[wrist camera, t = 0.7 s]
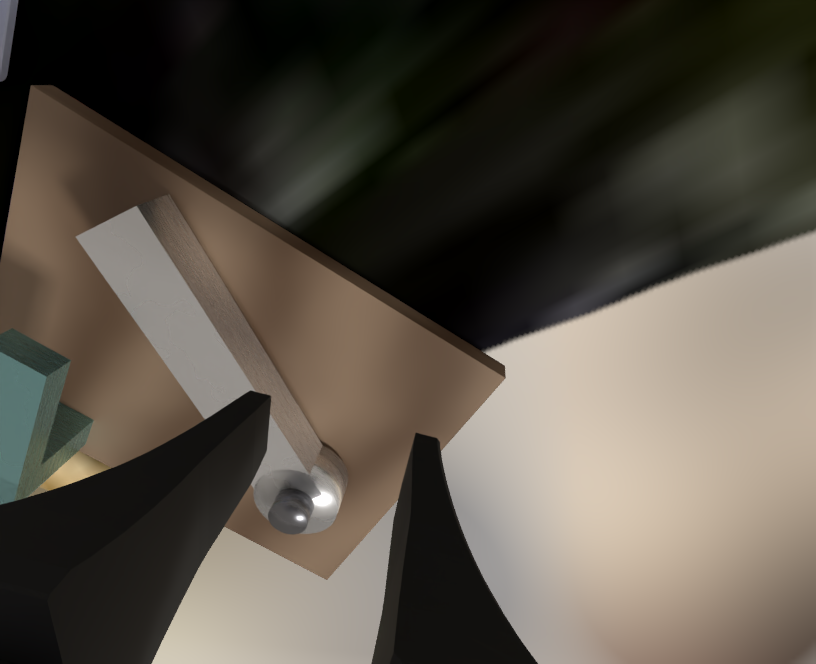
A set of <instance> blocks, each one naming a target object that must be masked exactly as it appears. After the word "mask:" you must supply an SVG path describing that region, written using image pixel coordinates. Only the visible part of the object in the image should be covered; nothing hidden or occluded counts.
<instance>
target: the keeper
mask: <svg viewBox="0 0 816 664" xmlns="http://www.w3.org/2000/svg"><path fill="white" fill-rule="evenodd" d="M70 363H71V360H70V359H68V358H66V357H64V356H62V355H61V354H59V353H57V352H55V351H53V350H51V349H50V348H48V347H46V346H44V345H42V344H40V343H39V342H37V341H35V340H33V339H31V338H30V337H28V336H26V335H24V334H22V333H20V332H19V331H17V330H15V329H13V328H11V329H10V330H8V331H6V332H4V333H2V334H0V505H1V504H5V503H9V502H13V501H17V500H20V499H24V498H27V497H28V496H29V495H30V494H31V493H32V492H33V491H35V490H36V489H37V488H38V487H39V486H40V485H41V484H42V483H43V482H45V481H46V480H47V479H48V478H49V477H50V476H51V475H52V474H53V473H54V472H56V471H57V470H58V469H59V468H60V467H61V466H62V465H63V464H64V463H65V462H67V461H68V460H69V459H70V458H71V457H72V456H73V455H74V454H75V453H76V452H78V451H79V450H80V449H81V448H82V447H83V446H84V445H85V444H86V441H87V438H88V435H89V433H90V430H91V427H92V424H93V421H94V420H93V419H91V418H89V417H87V416H85V415H84V414H82V413H80V412H78V411H76V410H74V409H72V408H70V407H68V406H67V405H65V404H63V403H61V402H59V401H60V397H61V394H62V390H63V387H64V383H65V380H66V376H67V373H68V370H69V366H70Z"/></svg>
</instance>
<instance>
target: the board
mask: <svg viewBox="0 0 816 664" xmlns="http://www.w3.org/2000/svg"><path fill="white" fill-rule="evenodd" d="M168 194H170V196H171V197H172V199H173V201H174V202H175V204H176V206H177V207H178V209H179V211H180V212H181V214H182V215H183V217H184V219H185V220H186V222H187V224H188V225H189V227H190V229H191V230H192V232H193V233H194V235H195V237H196V238H197V240H198V242H199V243H200V245H201V247H202V248H203V250H204V252H205V253H206V255H207V256H208V258H209V260H210V261H211V263H212V265H213V266H214V268H215V270H216V271H217V273H218V274H219V276H220V278H221V279H222V281H223V283H224V284H225V286H226V288H227V289H228V291H229V292H230V294H231V296H232V297H233V299H234V301H235V302H236V304H237V306H238V307H239V309H240V311H241V312H242V314H243V315H244V317H245V319H246V320H247V322H248V324H249V325H250V327H251V329H252V330H253V332H254V333H255V335H256V337H257V338H258V340H259V342H260V343H261V345H262V347H263V348H264V350H265V352H266V353H267V355H268V356H269V358H270V360H271V361H272V363H273V365H274V366H275V368H276V370H277V371H278V373H279V374H280V376H281V378H282V379H283V381H284V383H285V384H286V386H287V388H288V389H289V391H290V392H291V394H292V396H293V397H294V399H295V401H296V402H297V404H298V406H299V407H300V409H301V411H302V412H303V414H304V415H305V417H306V419H307V420H308V422H309V424H310V425H311V427H312V429H313V430H314V432H315V433H316V435H317V437H318V438H319V440H320V442H321V443H322V445H323V446H325V447H327V448H329V449H330V450H332V451H333V452H334V453H336V454H337V455H338V456H339V457H340V459H341V460H342V461H343V463H344V464H345V466H346V468H347V471H348V484H347V487H346V490H345V493H344V496H343V499H342V502H341V505H340V508H339V511H338V513H337V516H336V519H335V521H334V522H333V524H332V525H331V526H329V527H328V528H327V529H325V530H323V531H321V532H317V533H312V534H300V533H299V534H294V535H291V534H285V533H282V532H280V531H278V530H277V529H275V528H274V527H273V526H272V525H271V524H270V522H269V520H268V519H266V518H265V517H264V516H263V515H262V513H261V512H260V511H259V509H258V508H257V506H256V504H255V501H254V495H253V492H254V488H253V487H252V485H250V486H249V488H248V490H247V491H246V493H245V494H244V496H243V498H242V499H241V501H240V502H239V504H238V505H237V507H236V509H235V510H234V512H233V513H232V515H231V516H230V518H229V520H228V521H227V523H226V524H225V526H224V527H226V528H228V529H230V530H232V531H234V532H236V533H238V534H240V535H242V536H244V537H246V538H248V539H249V540H251V541H253V542H255V543H257V544H259V545H261V546H263V547H265V548H267V549H269V550H271V551H273V552H274V553H276V554H278V555H280V556H282V557H284V558H286V559H288V560H290V561H292V562H294V563H295V564H298V565H299V566H301V567H303V568H305V569H307V570H309V571H311V572H313V573H315V574H317V575H318V576H320V577H322V578H324V579H326V580H327V579H328V578H329V577H330V576H331V575H332V574H333V572H334V571H335V570H336V569H337V568H338V567H339V565H340V564H341V563H342V562H343V561H344V560H345V559H346V558H347V556H348V555H349V554H350V553H351V552H352V551H353V550H354V549H355V548H356V546H357V545H358V544H359V543H360V542H361V541H362V540H363V538H364V537H365V536H366V535H367V534H368V533H369V532H370V531H371V529H372V528H373V527H374V526H375V525H376V524H377V523H378V521H379V520H380V519H381V518H382V517H383V516H384V515H385V514H386V512H387V511H388V510H389V509H390V508H391V507H392V506H393V505H394V503H395V502H396V501H397V500H398V498H399V494H400V489H401V485H402V481H403V478H404V474H405V470H406V466H407V463H408V459H409V455H410V451H411V448H412V444H413V440H414V437H415V433H420V434H423V435H427V436H431V437H435V438H438V440H439V441H440V449H441V450H442V449H443V448H444V447H445V446H446V445H447V444H448V442H449V441H450V440H451V439H452V438H453V437H454V436H455V434H456V433H457V432H458V431H459V430H460V429H461V428H462V427H463V425H464V424H465V423H466V422H467V421H468V420H469V419H470V417H471V416H472V415H473V414H474V413H475V412H476V411H477V410H478V409H479V407H480V406H481V405H482V404H483V403H484V402H485V401H486V400H487V398H488V397H489V396H490V395H491V394H492V393H493V392H494V391H495V389H496V388H497V387H498V386H499V385H500V383H501V382H502V381H503V380H504V379H505V366H504V365H502V364H501V363H499V362H498V361H496V360H495V359H493V358H491V357H490V356H488V355H486V354H485V353H483V352H482V351H480V350H478V349H477V348H475V347H474V346H472V345H470V344H469V343H467V342H466V341H464V340H462V339H461V338H459V337H457V336H456V335H454V334H453V333H451V332H449V331H448V330H446V329H445V328H443V327H441V326H440V325H438V324H437V323H435V322H433V321H432V320H430V319H428V318H427V317H425V316H424V315H422V314H420V313H419V312H417V311H416V310H414V309H412V308H411V307H409V306H408V305H406V304H404V303H403V302H401V301H399V300H398V299H396V298H395V297H393V296H391V295H390V294H388V293H387V292H385V291H383V290H382V289H380V288H379V287H377V286H375V285H374V284H372V283H370V282H369V281H367V280H366V279H364V278H362V277H361V276H359V275H358V274H356V273H354V272H353V271H351V270H350V269H348V268H346V267H345V266H343V265H341V264H340V263H338V262H337V261H335V260H333V259H332V258H330V257H329V256H327V255H325V254H324V253H322V252H321V251H319V250H317V249H316V248H314V247H312V246H311V245H309V244H308V243H306V242H304V241H303V240H301V239H300V238H298V237H296V236H295V235H293V234H292V233H290V232H288V231H287V230H285V229H283V228H282V227H280V226H279V225H277V224H275V223H274V222H272V221H271V220H269V219H267V218H266V217H264V216H263V215H261V214H259V213H258V212H256V211H254V210H253V209H251V208H250V207H248V206H246V205H245V204H243V203H242V202H240V201H238V200H237V199H235V198H234V197H232V196H230V195H229V194H227V193H225V192H224V191H222V190H221V189H219V188H217V187H216V186H214V185H213V184H211V183H209V182H208V181H206V180H204V179H203V178H201V177H200V176H198V175H196V174H195V173H193V172H192V171H190V170H188V169H187V168H185V167H184V166H182V165H180V164H179V163H177V162H175V161H174V160H172V159H171V158H169V157H167V156H166V155H164V154H163V153H161V152H159V151H158V150H156V149H155V148H153V147H151V146H150V145H148V144H146V143H145V142H143V141H142V140H140V139H138V138H137V137H135V136H134V135H132V134H130V133H129V132H127V131H126V130H124V129H122V128H121V127H119V126H117V125H116V124H114V123H113V122H111V121H109V120H108V119H106V118H105V117H103V116H101V115H100V114H98V113H97V112H95V111H93V110H92V109H90V108H88V107H87V106H85V105H84V104H82V103H80V102H79V101H77V100H76V99H74V98H72V97H71V96H69V95H68V94H66V93H64V92H63V91H61V90H59V89H58V88H56V87H55V86H53V85H31V88H30V94H29V99H28V105H27V111H26V117H25V123H24V128H23V134H22V140H21V146H20V151H19V157H18V163H17V169H16V175H15V180H14V186H13V192H12V198H11V204H10V209H9V215H8V221H7V227H6V232H5V238H4V244H3V250H2V256H1V261H0V334H2V333H4V332H6V331H8V330H10V329H11V328H13V329H15V330H17V331H19V332H20V333H22V334H24V335H26V336H28V337H30V338H31V339H33V340H35V341H37V342H39V343H40V344H42V345H44V346H46V347H48V348H50V349H51V350H53V351H55V352H57V353H59V354H61V355H62V356H64V357H66V358H68V359H70V360H71V363H70V366H69V370H68V373H67V376H66V380H65V383H64V387H63V390H62V394H61V397H60V401H59V402H61V403H63V404H65V405H67V406H68V407H70V408H72V409H74V410H76V411H78V412H80V413H82V414H84V415H85V416H87V417H89V418H91V419H93V420H94V421H93V424H92V427H91V430H90V433H89V435H88V438H87V441H86V444H85V445H84V446H83V447H82V448H81V449H80V450H79V451H81V452H83V453H85V454H86V455H88V456H90V457H92V458H94V459H96V460H98V461H100V462H102V463H104V464H106V465H108V466H109V467H111V468H114V467H116V466H118V465H121V464H123V463H125V462H127V461H130V460H132V459H134V458H136V457H138V456H141V455H143V454H145V453H147V452H149V451H151V450H153V449H155V448H156V447H158V446H160V445H162V444H164V443H166V442H167V441H169V440H171V439H173V438H175V437H176V436H178V435H180V434H182V433H184V432H185V431H187V430H189V429H190V428H192V427H194V426H195V425H197V424H198V423H200V422H202V421H203V420H205V419H204V418H203V416H202V415H201V413H200V412H199V411H198V409H197V408H196V406H195V405H194V403H193V402H192V401H191V399H190V398H189V396H188V395H187V394H186V392H185V391H184V389H183V388H182V387H181V385H180V384H179V382H178V381H177V379H176V378H175V377H174V375H173V374H172V372H171V371H170V370H169V368H168V367H167V365H166V364H165V363H164V361H163V360H162V358H161V357H160V355H159V354H158V353H157V351H156V350H155V348H154V347H153V346H152V344H151V343H150V341H149V340H148V339H147V337H146V336H145V334H144V333H143V331H142V330H141V329H140V327H139V326H138V324H137V323H136V322H135V320H134V319H133V317H132V316H131V315H130V313H129V312H128V310H127V309H126V307H125V306H124V305H123V303H122V302H121V300H120V299H119V298H118V296H117V295H116V293H115V292H114V291H113V289H112V288H111V286H110V285H109V284H108V282H107V281H106V279H105V278H104V276H103V275H102V274H101V272H100V271H99V269H98V268H97V267H96V265H95V264H94V262H93V261H92V260H91V258H90V257H89V255H88V254H87V252H86V251H85V250H84V248H83V247H82V245H81V244H80V243H79V241H78V240H77V238H76V236H78V235H80V234H82V233H84V232H86V231H88V230H90V229H92V228H94V227H96V226H97V225H99V224H101V223H103V222H105V221H107V220H109V219H111V218H113V217H115V216H117V215H119V214H121V213H123V212H125V211H127V210H129V209H131V208H133V207H135V206H137V205H140V204H143V203H146V202H148V201H151V200H154V199H157V198H160V197H162V196H165V195H168Z"/></svg>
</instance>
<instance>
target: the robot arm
mask: <svg viewBox="0 0 816 664" xmlns="http://www.w3.org/2000/svg"><path fill="white" fill-rule="evenodd" d="M17 7H18V0H0V81H4V80H5V79H6V77H7V74H8V67H9V60H10V54H11V47H12V40H13V34H14V27H15V20H16V13H17ZM270 407H271V396H270V395H267V394H263V393H259V392H255V391H251V390H250V391H249V392H247V393H245V394H244V395H242V396H240V397H239V398H237V399H236V400H234V401H233V402H231V403H230V404H228V405H227V406H225V407H224V408H222V409H221V410H219V411H218V412H216V413H215V414H213V415H211V416H210V417H208V418H207V419H205V420H203V421H202V422H200V423H198V424H197V425H195V426H194V427H192V428H190V429H189V430H187V431H185V432H184V433H182V434H180V435H178V436H176V437H175V438H173V439H171V440H169V441H167V442H166V443H164V444H162V445H160V446H158V447H156V448H155V449H153V450H151V451H149V452H147V453H145V454H143V455H141V456H138V457H136V458H134V459H132V460H130V461H127V462H125V463H123V464H121V465H118V466H116V467H114V468H111V469H108V470H106V471H103V472H101V473H98V474H95V475H93V476H90V477H88V478H85V479H82V480H80V481H77V482H74V483H72V484H69V485H66V486H63V487H60V488H57V489H54V490H51V491H47V492H44V493H41V494H37V495H34V496H31V497H27V498H24V499H20V500H17V501H13V502H9V503H5V504H1V505H0V664H151V663H152V661H153V659H154V657H155V655H156V653H157V651H158V648H159V646H160V644H161V642H162V640H163V638H164V636H165V634H166V632H167V630H168V628H169V626H170V624H171V621H172V620H173V617H174V615H175V613H176V611H177V609H178V607H179V605H180V603H181V601H182V599H183V597H184V595H185V593H186V591H187V590H188V588H189V586H190V584H191V582H192V580H193V578H194V575H195V574H196V572H197V570H198V568H199V566H200V564H201V563H202V561H203V559H204V558H205V556H206V554H207V552H208V551H209V549H210V548H211V546H212V544H213V543H214V541H215V540H216V538H217V537H218V535H219V534H220V532H221V530H222V529H223V527H224V526H225V524H226V523H227V521H228V520H229V518H230V516H231V515H232V513H233V512H234V510H235V509H236V507H237V505H238V504H239V502H240V501H241V499H242V498H243V496H244V494H245V493H246V491H247V490H248V488H249V486H250V485H251V483H252V481H253V479H254V477H255V475H256V473H257V471H258V469H259V467H260V465H261V462H262V460H263V458H264V456H265V454H266V452H267V443H268V431H269V419H270ZM372 664H538V663H537V662H536V661H535V659H534V658H533V656H532V655H531V654H530V652H529V651H528V650H527V648H526V647H525V646H524V644H523V643H522V641H521V640H520V639H519V637H518V636H517V634H516V632H515V631H514V629H513V628H512V626H511V624H510V623H509V622H508V620H507V618H506V617H505V615H504V614H503V612H502V610H501V608H500V607H499V605H498V603H497V601H496V599H495V598H494V596H493V594H492V593H491V591H490V589H489V588H488V585H487V584H486V582H485V580H484V578H483V576H482V574H481V572H480V570H479V568H478V566H477V564H476V562H475V560H474V558H473V555H472V553H471V551H470V549H469V546H468V544H467V541H466V539H465V537H464V534H463V532H462V529H461V526H460V524H459V521H458V518H457V515H456V512H455V509H454V506H453V503H452V499H451V496H450V492H449V489H448V485H447V481H446V477H445V473H444V468H443V463H442V458H441V449H440V441H439V440H438V438H435V437H431V436H427V435H423V434H420V433H415V437H414V440H413V444H412V448H411V451H410V455H409V459H408V463H407V466H406V470H405V474H404V478H403V481H402V485H401V489H400V494H399V498H398V503H397V507H396V512H395V516H394V522H393V530H392V538H391V546H390V555H389V564H388V572H387V580H386V589H385V597H384V604H383V611H382V616H381V621H380V626H379V631H378V636H377V640H376V645H375V650H374V655H373V660H372Z"/></svg>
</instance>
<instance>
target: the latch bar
mask: <svg viewBox="0 0 816 664" xmlns="http://www.w3.org/2000/svg"><path fill="white" fill-rule="evenodd" d="M76 238H77V240H78V241H79V243H80V244H81V245H82V247H83V248H84V250H85V251H86V252H87V254H88V255H89V257H90V258H91V260H92V261H93V262H94V264H95V265H96V267H97V268H98V269H99V271H100V272H101V274H102V275H103V276H104V278H105V279H106V281H107V282H108V284H109V285H110V286H111V288H112V289H113V291H114V292H115V293H116V295H117V296H118V298H119V299H120V300H121V302H122V303H123V305H124V306H125V307H126V309H127V310H128V312H129V313H130V315H131V316H132V317H133V319H134V320H135V322H136V323H137V324H138V326H139V327H140V329H141V330H142V331H143V333H144V334H145V336H146V337H147V339H148V340H149V341H150V343H151V344H152V346H153V347H154V348H155V350H156V351H157V353H158V354H159V355H160V357H161V358H162V360H163V361H164V363H165V364H166V365H167V367H168V368H169V370H170V371H171V372H172V374H173V375H174V377H175V378H176V379H177V381H178V382H179V384H180V385H181V387H182V388H183V389H184V391H185V392H186V394H187V395H188V396H189V398H190V399H191V401H192V402H193V403H194V405H195V406H196V408H197V409H198V411H199V412H200V413H201V415H202V416H203V418H204V419H207V418H208V417H210V416H211V415H213V414H215V413H216V412H218V411H219V410H221V409H222V408H224V407H225V406H227V405H228V404H230V403H231V402H233V401H234V400H236V399H237V398H239V397H240V396H242V395H244V394H245V393H247V392H249V391H250V390H251V391H255V392H259V393H263V394H267V395H270V396H271V407H270V419H269V431H268V443H267V452H266V454H265V456H264V458H263V460H262V462H261V465H260V467H259V469H258V471H257V473H256V475H255V477H254V479H253V481H252V483H251V485H252V487H253V488H254V492H253V495H254V501H255V504H256V506H257V508H258V509H259V511H260V512H261V513H262V515H263V516H264V517H265V518H266V519H268V520H269V522H270V524H271V525H272V526H273V527H274V528H275V529H277V530H278V531H280V532H282V533H285V534H291V535H294V534H299V533H300V534H312V533H317V532H321V531H323V530H325V529H327V528H328V527H329V526H331V525H332V524H333V522H334V521H335V519H336V516H337V513H338V511H339V508H340V505H341V502H342V499H343V496H344V493H345V490H346V487H347V484H348V471H347V468H346V466H345V464H344V463H343V461H342V460H341V459H340V457H339V456H338V455H337V454H336V453H334V452H333V451H332V450H330V449H329V448H327V447H325V446H323V445H322V443H321V442H320V440H319V438H318V437H317V435H316V433H315V432H314V430H313V429H312V427H311V425H310V424H309V422H308V420H307V419H306V417H305V415H304V414H303V412H302V411H301V409H300V407H299V406H298V404H297V402H296V401H295V399H294V397H293V396H292V394H291V392H290V391H289V389H288V388H287V386H286V384H285V383H284V381H283V379H282V378H281V376H280V374H279V373H278V371H277V370H276V368H275V366H274V365H273V363H272V361H271V360H270V358H269V356H268V355H267V353H266V352H265V350H264V348H263V347H262V345H261V343H260V342H259V340H258V338H257V337H256V335H255V333H254V332H253V330H252V329H251V327H250V325H249V324H248V322H247V320H246V319H245V317H244V315H243V314H242V312H241V311H240V309H239V307H238V306H237V304H236V302H235V301H234V299H233V297H232V296H231V294H230V292H229V291H228V289H227V288H226V286H225V284H224V283H223V281H222V279H221V278H220V276H219V274H218V273H217V271H216V270H215V268H214V266H213V265H212V263H211V261H210V260H209V258H208V256H207V255H206V253H205V252H204V250H203V248H202V247H201V245H200V243H199V242H198V240H197V238H196V237H195V235H194V233H193V232H192V230H191V229H190V227H189V225H188V224H187V222H186V220H185V219H184V217H183V215H182V214H181V212H180V211H179V209H178V207H177V206H176V204H175V202H174V201H173V199H172V197H171V196H170V194H168V195H165V196H162V197H160V198H157V199H154V200H151V201H148V202H146V203H143V204H140V205H137V206H135V207H133V208H131V209H129V210H127V211H125V212H123V213H121V214H119V215H117V216H115V217H113V218H111V219H109V220H107V221H105V222H103V223H101V224H99V225H97V226H96V227H94V228H92V229H90V230H88V231H86V232H84V233H82V234H80V235H78V236H76Z"/></svg>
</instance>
